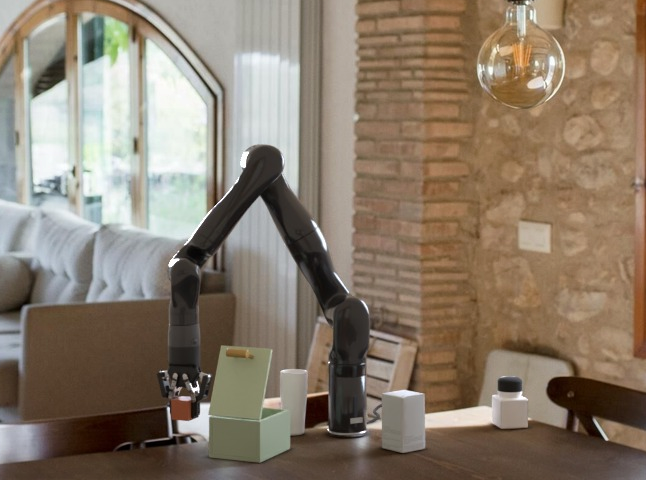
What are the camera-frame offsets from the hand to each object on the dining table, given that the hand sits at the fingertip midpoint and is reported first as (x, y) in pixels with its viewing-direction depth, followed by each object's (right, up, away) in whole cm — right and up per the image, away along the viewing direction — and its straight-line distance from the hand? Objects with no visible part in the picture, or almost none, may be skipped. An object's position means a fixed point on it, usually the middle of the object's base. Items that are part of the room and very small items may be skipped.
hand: (184, 416), depth 298 cm
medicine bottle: (+78, -7, +21) cm, 81 cm away
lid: (+14, +10, -12) cm, 21 cm away
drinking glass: (+25, -7, +12) cm, 28 cm away
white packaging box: (+51, -7, -4) cm, 51 cm away
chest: (+16, -6, -8) cm, 19 cm away
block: (0, 0, 0) cm, 0 cm away
